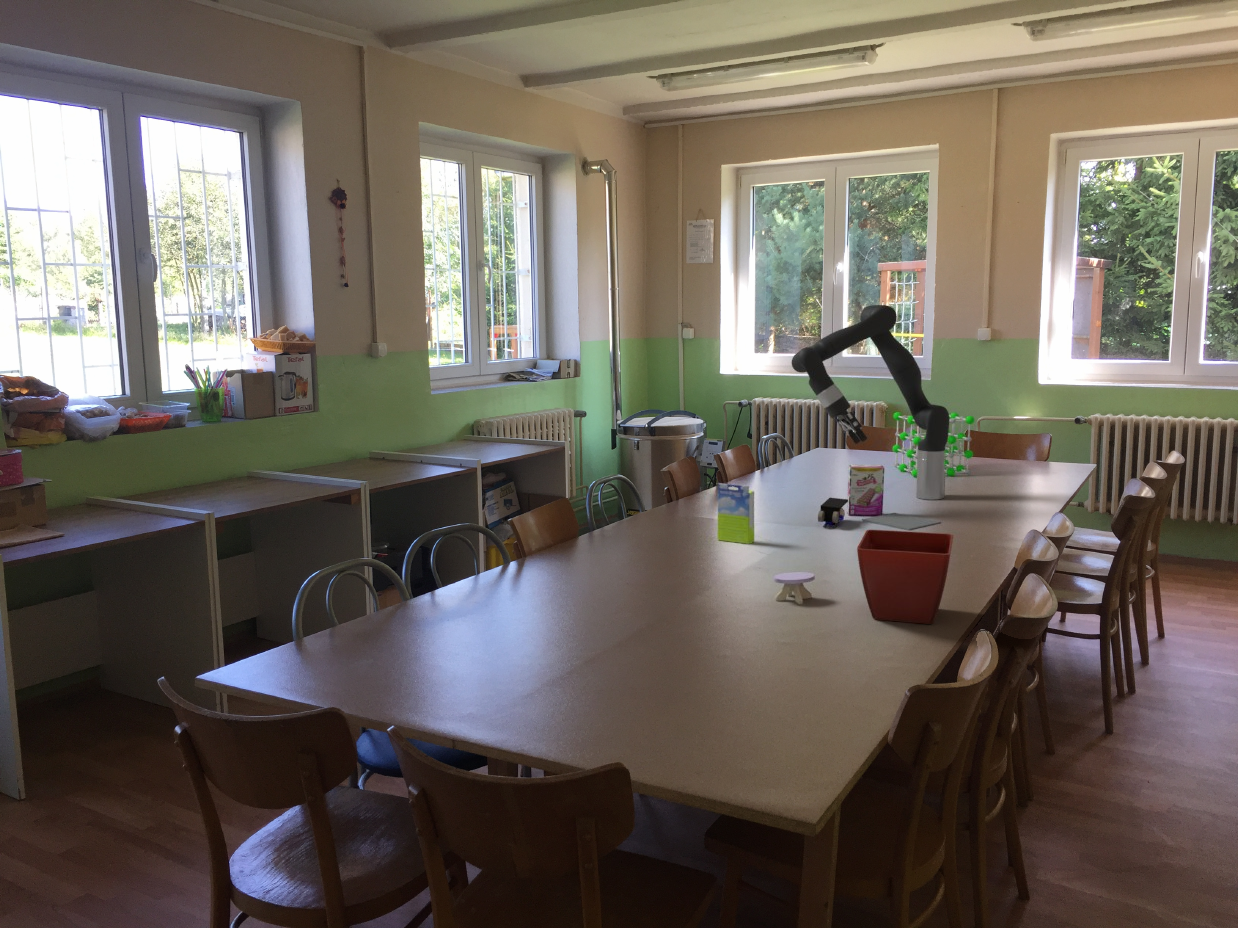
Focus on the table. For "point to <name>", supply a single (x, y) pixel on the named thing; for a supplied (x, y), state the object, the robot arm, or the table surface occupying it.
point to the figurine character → (832, 511)
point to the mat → (901, 521)
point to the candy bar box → (865, 490)
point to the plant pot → (904, 573)
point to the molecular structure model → (917, 437)
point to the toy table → (794, 585)
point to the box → (735, 514)
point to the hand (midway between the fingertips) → (861, 441)
